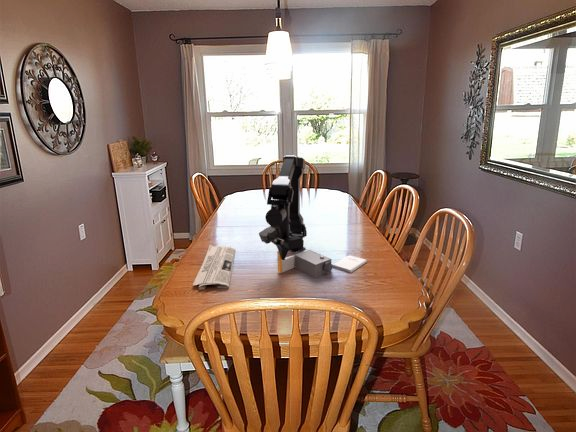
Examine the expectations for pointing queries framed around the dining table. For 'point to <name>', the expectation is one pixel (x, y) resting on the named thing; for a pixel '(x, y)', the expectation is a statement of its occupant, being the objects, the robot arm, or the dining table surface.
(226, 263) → the newspaper
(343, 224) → the dining table surface
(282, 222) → the robot arm
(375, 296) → the dining table surface
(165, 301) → the dining table surface
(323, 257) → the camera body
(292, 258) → the side door
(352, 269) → the external hard drive
